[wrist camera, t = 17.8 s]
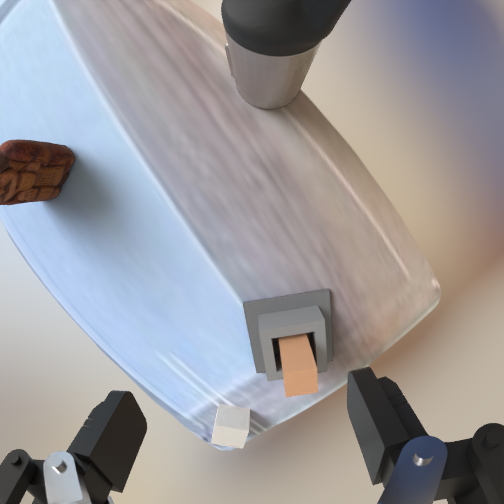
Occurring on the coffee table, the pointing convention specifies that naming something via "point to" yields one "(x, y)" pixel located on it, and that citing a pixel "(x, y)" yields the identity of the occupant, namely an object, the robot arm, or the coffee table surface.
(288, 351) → the orange rectangular block
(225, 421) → the white cube
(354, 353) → the coffee table surface
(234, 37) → the robot arm
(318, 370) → the well
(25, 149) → the wooden figurine
